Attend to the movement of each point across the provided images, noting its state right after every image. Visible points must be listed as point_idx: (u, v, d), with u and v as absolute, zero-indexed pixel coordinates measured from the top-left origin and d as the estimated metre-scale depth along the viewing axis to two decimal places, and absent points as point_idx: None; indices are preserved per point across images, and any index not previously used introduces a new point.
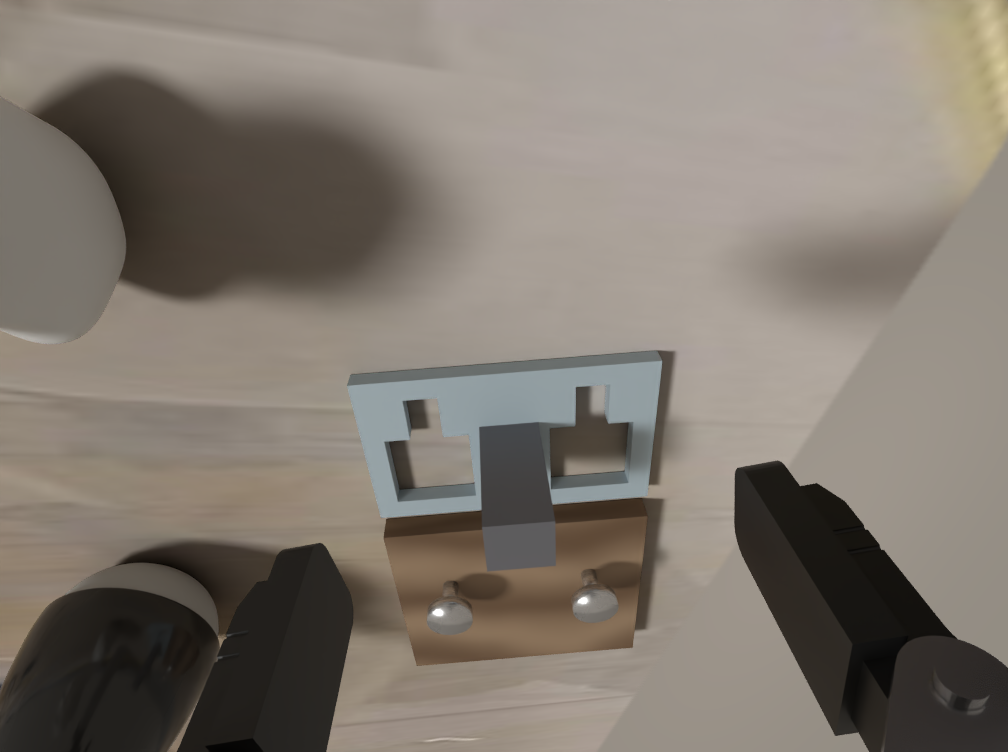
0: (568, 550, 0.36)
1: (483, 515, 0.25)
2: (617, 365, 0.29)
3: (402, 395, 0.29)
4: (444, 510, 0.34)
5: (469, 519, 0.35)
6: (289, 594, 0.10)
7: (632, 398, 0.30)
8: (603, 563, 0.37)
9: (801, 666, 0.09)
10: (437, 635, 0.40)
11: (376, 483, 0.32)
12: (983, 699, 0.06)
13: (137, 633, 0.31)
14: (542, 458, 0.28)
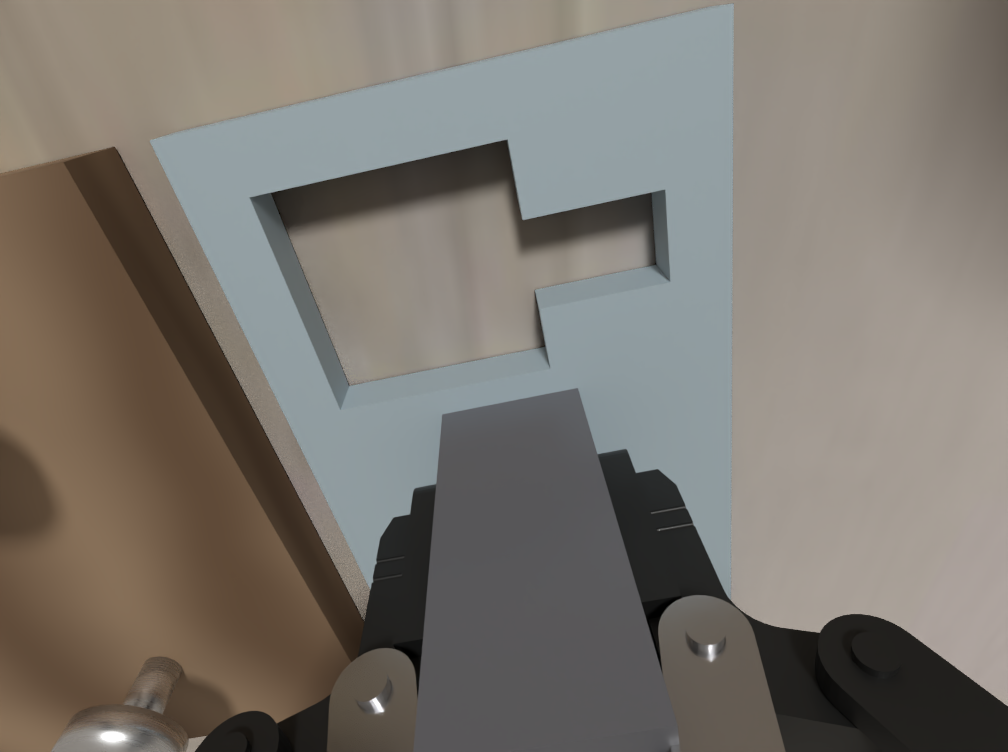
0: (226, 623, 0.15)
1: (660, 670, 0.07)
2: (725, 582, 0.16)
3: (683, 188, 0.10)
4: (259, 339, 0.11)
5: (229, 398, 0.12)
6: None
7: None
8: (211, 681, 0.16)
9: None
10: None
11: (317, 118, 0.09)
12: (717, 645, 0.07)
13: None
14: None
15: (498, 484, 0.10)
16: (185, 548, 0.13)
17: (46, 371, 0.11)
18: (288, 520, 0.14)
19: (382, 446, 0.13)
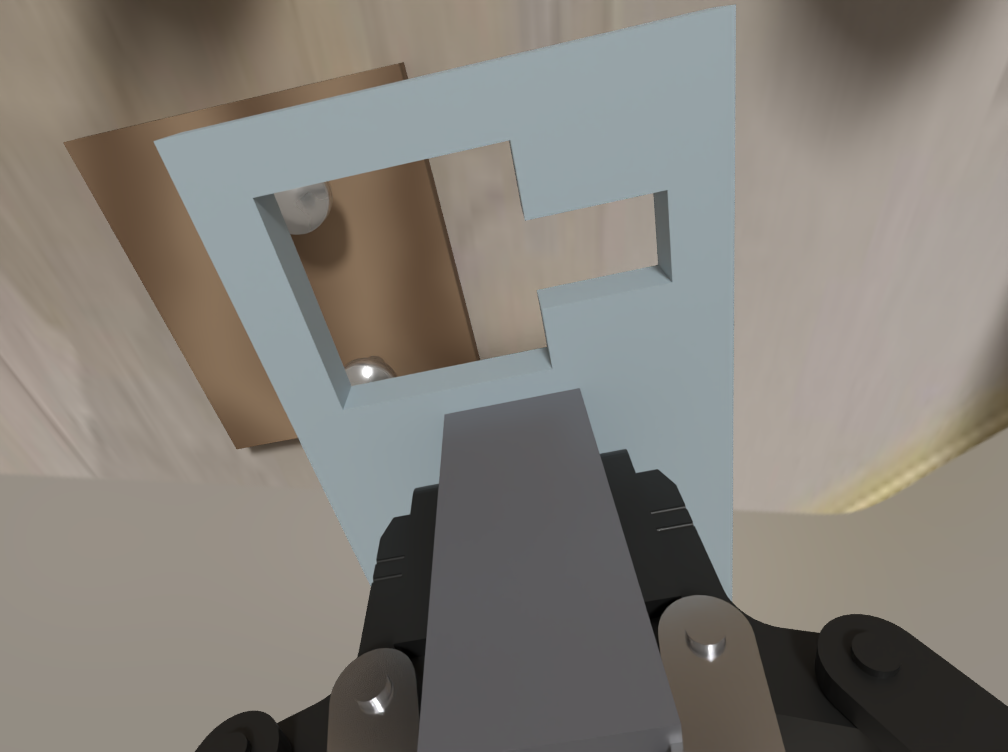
0: (415, 332, 0.28)
1: (663, 669, 0.07)
2: (726, 582, 0.16)
3: (685, 188, 0.10)
4: (262, 339, 0.11)
5: (435, 193, 0.25)
6: (435, 523, 0.10)
7: None
8: (398, 376, 0.29)
9: None
10: None
11: (320, 119, 0.09)
12: (717, 645, 0.07)
13: None
14: None
15: (501, 484, 0.10)
16: (405, 278, 0.26)
17: None
18: (454, 269, 0.27)
19: (384, 446, 0.13)
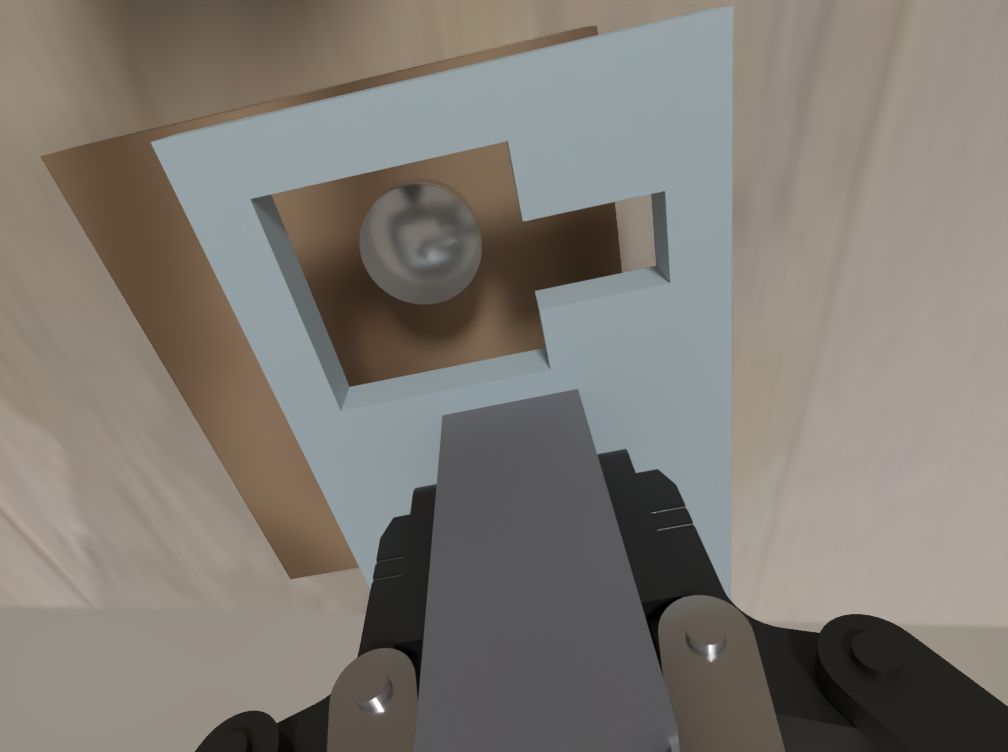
0: None
1: (660, 671, 0.07)
2: (725, 583, 0.16)
3: (683, 189, 0.10)
4: (260, 340, 0.11)
5: None
6: None
7: None
8: None
9: None
10: None
11: (317, 120, 0.09)
12: (717, 645, 0.07)
13: None
14: None
15: (498, 485, 0.10)
16: None
17: None
18: None
19: (382, 447, 0.13)
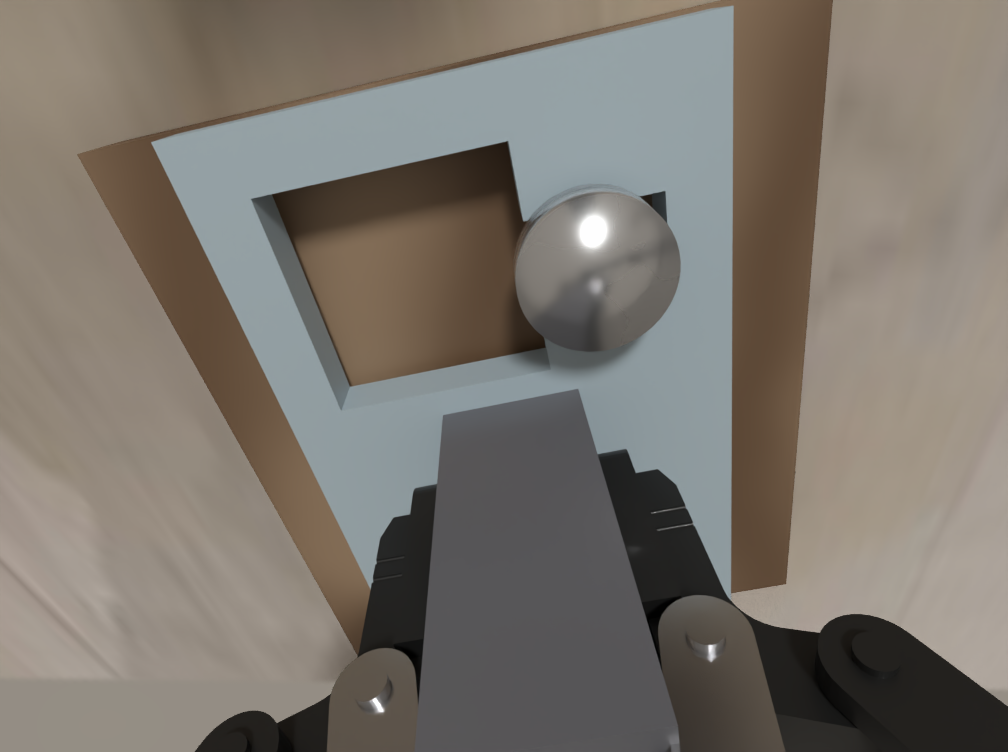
0: None
1: (660, 671, 0.07)
2: (725, 583, 0.16)
3: (683, 189, 0.10)
4: (260, 340, 0.11)
5: None
6: None
7: None
8: None
9: None
10: (297, 216, 0.11)
11: (318, 120, 0.09)
12: (717, 645, 0.07)
13: None
14: None
15: (498, 485, 0.10)
16: None
17: None
18: None
19: (383, 447, 0.13)
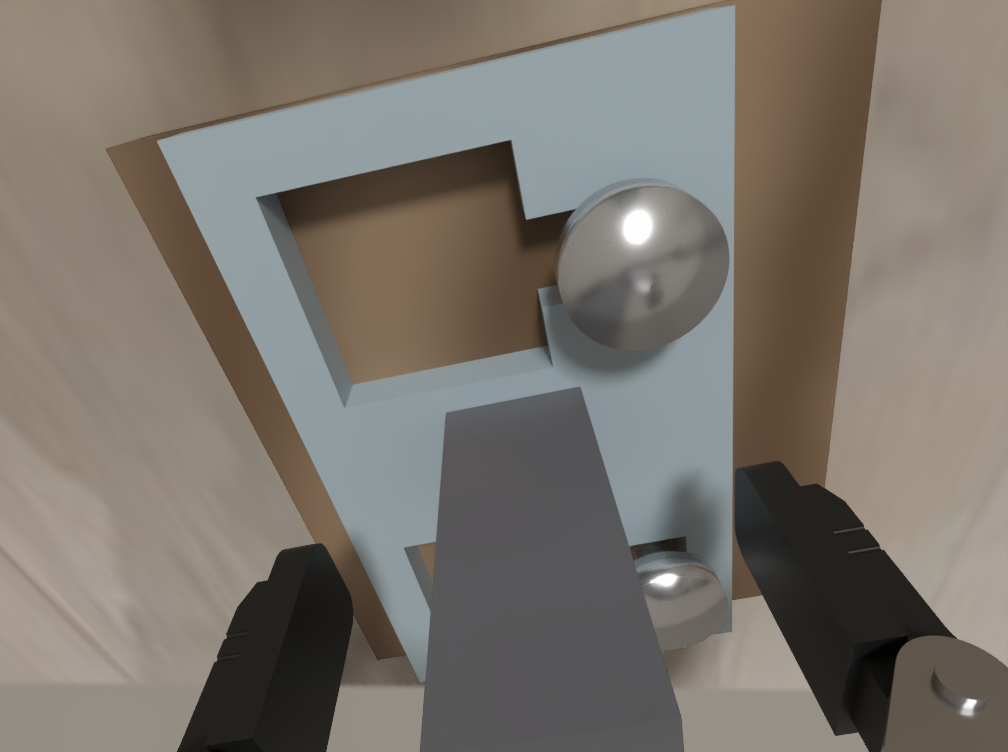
0: None
1: (664, 664, 0.07)
2: (726, 580, 0.16)
3: (685, 188, 0.10)
4: (264, 338, 0.11)
5: None
6: (289, 594, 0.10)
7: None
8: None
9: (801, 666, 0.09)
10: (328, 212, 0.11)
11: (322, 118, 0.09)
12: (983, 699, 0.06)
13: None
14: None
15: (501, 481, 0.10)
16: (743, 400, 0.14)
17: (735, 197, 0.11)
18: None
19: (386, 444, 0.13)
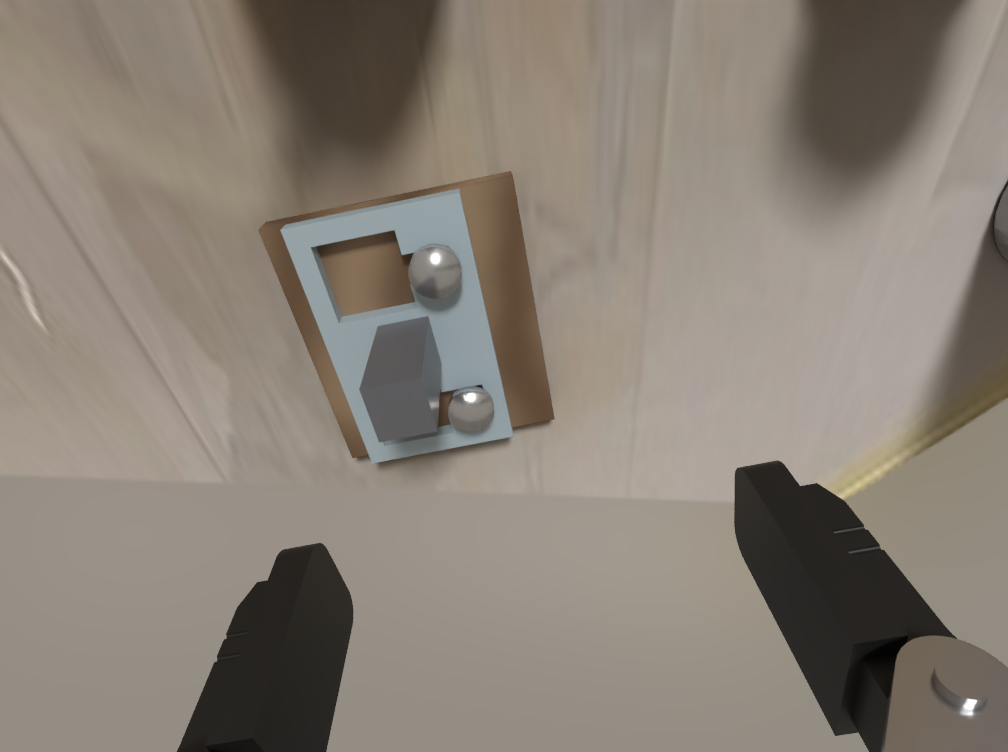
0: (504, 365, 0.36)
1: (422, 371, 0.27)
2: (505, 408, 0.36)
3: (454, 245, 0.31)
4: (310, 295, 0.32)
5: None
6: (289, 594, 0.10)
7: None
8: None
9: (801, 666, 0.09)
10: (334, 251, 0.32)
11: (333, 223, 0.30)
12: (983, 699, 0.06)
13: None
14: (439, 386, 0.32)
15: (392, 342, 0.31)
16: (501, 325, 0.35)
17: (479, 247, 0.32)
18: None
19: (354, 339, 0.33)
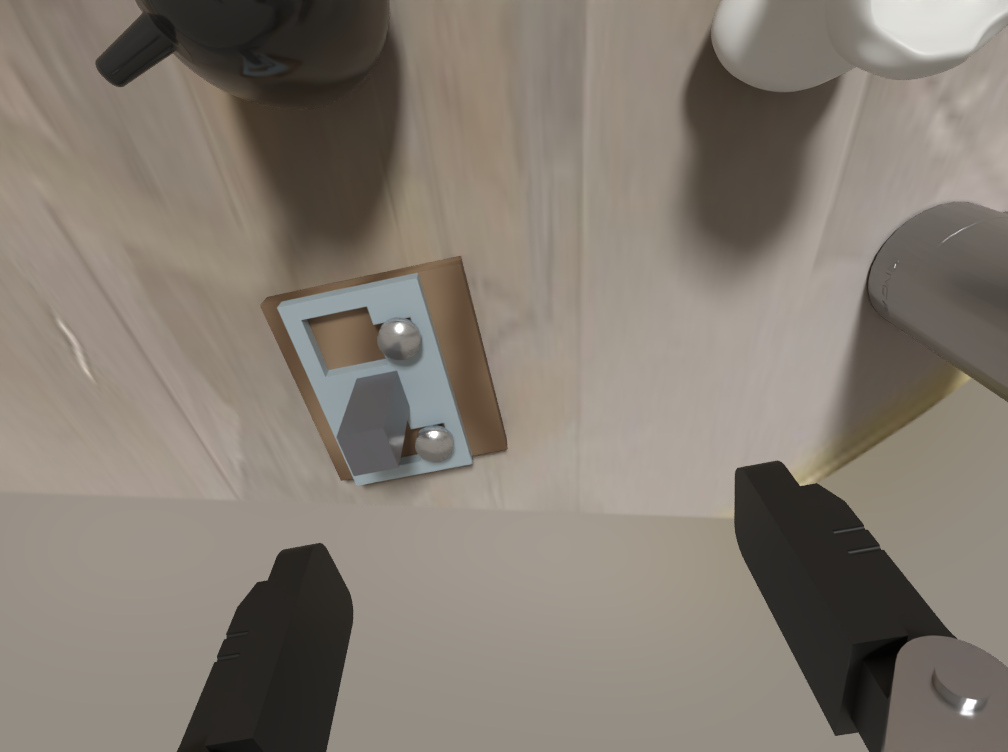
0: (463, 406, 0.44)
1: (385, 422, 0.35)
2: (464, 441, 0.44)
3: (415, 316, 0.39)
4: (302, 356, 0.40)
5: (477, 326, 0.41)
6: (289, 594, 0.10)
7: None
8: None
9: (801, 666, 0.09)
10: (320, 320, 0.40)
11: (318, 302, 0.38)
12: (983, 699, 0.06)
13: (374, 46, 0.28)
14: (405, 428, 0.40)
15: (366, 394, 0.39)
16: (457, 375, 0.42)
17: (437, 316, 0.40)
18: (487, 368, 0.43)
19: (338, 388, 0.41)
